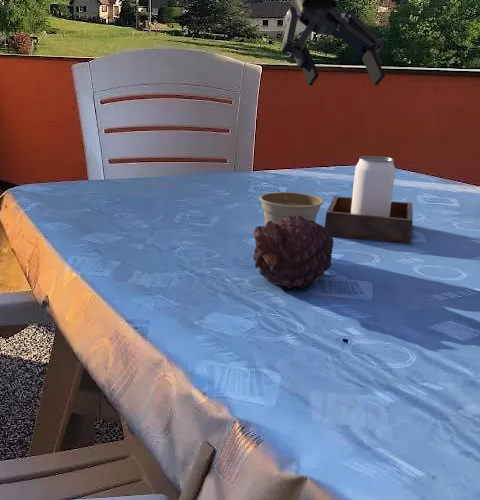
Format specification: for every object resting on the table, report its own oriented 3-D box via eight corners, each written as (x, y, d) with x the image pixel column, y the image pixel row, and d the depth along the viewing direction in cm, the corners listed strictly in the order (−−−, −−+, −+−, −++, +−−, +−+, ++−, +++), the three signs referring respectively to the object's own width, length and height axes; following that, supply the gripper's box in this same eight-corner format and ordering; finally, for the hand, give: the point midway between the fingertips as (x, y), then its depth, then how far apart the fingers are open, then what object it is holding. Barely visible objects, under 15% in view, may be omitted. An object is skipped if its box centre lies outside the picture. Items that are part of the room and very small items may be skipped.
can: (352, 220, 128) (359, 154, 124) (390, 225, 125) (398, 157, 121) (346, 228, 122) (353, 159, 119) (385, 233, 119) (394, 163, 116)
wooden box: (409, 224, 128) (412, 202, 126) (409, 244, 115) (412, 220, 114) (331, 216, 132) (334, 195, 131) (324, 235, 120) (326, 212, 119)
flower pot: (320, 264, 104) (325, 207, 102) (255, 260, 106) (259, 203, 103) (316, 246, 113) (321, 193, 110) (256, 242, 114) (260, 190, 112)
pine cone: (280, 257, 107) (323, 207, 103) (325, 304, 102) (372, 253, 98) (215, 251, 93) (262, 192, 89) (264, 304, 88) (315, 245, 84)
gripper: (357, 11, 142) (394, 94, 133) (244, 7, 135) (276, 94, 126) (376, -19, 136) (417, 66, 127) (259, -25, 129) (294, 65, 119)
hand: (347, 80), depth 126 cm, fingers open, 13 cm apart
